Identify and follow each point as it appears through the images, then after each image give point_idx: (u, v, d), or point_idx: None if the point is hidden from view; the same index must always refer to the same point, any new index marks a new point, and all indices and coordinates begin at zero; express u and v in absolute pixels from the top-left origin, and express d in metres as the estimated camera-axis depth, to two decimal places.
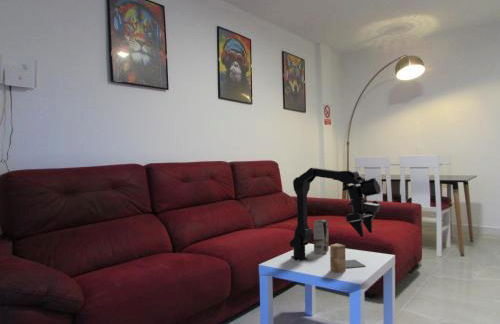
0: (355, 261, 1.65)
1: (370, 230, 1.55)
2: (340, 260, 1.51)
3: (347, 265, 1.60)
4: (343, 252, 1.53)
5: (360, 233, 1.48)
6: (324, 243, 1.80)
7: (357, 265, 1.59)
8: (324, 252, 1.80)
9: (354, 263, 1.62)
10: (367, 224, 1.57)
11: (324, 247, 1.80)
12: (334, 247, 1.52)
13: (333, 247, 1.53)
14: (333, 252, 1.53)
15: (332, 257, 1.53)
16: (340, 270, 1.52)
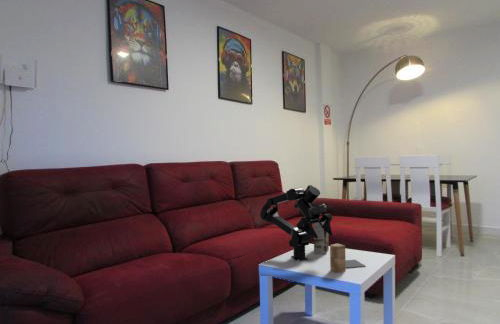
0: (355, 261, 1.65)
1: (330, 233, 1.63)
2: (339, 260, 1.51)
3: (347, 265, 1.60)
4: (343, 252, 1.53)
5: (314, 236, 1.58)
6: (324, 243, 1.80)
7: (357, 265, 1.59)
8: (324, 252, 1.80)
9: (354, 263, 1.62)
10: (327, 229, 1.65)
11: (324, 247, 1.80)
12: (334, 247, 1.52)
13: (333, 247, 1.53)
14: (333, 252, 1.53)
15: (332, 257, 1.53)
16: (340, 270, 1.52)
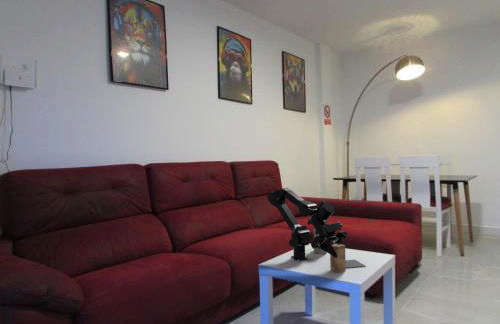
0: (355, 261, 1.65)
1: None
2: (340, 260, 1.51)
3: (347, 265, 1.60)
4: (343, 252, 1.53)
5: (333, 254, 1.52)
6: None
7: (357, 265, 1.59)
8: (324, 252, 1.80)
9: (354, 263, 1.62)
10: None
11: None
12: (334, 247, 1.52)
13: (333, 247, 1.53)
14: None
15: (332, 257, 1.53)
16: (340, 270, 1.52)
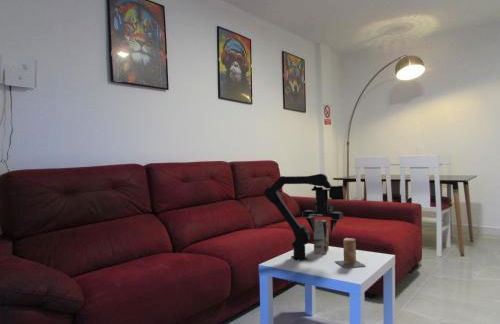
0: None
1: (314, 229, 1.73)
2: (354, 253, 1.60)
3: (347, 265, 1.60)
4: (355, 245, 1.62)
5: (333, 230, 1.67)
6: (324, 243, 1.80)
7: (357, 265, 1.59)
8: (324, 252, 1.80)
9: None
10: (313, 224, 1.73)
11: (324, 247, 1.80)
12: (349, 241, 1.60)
13: (347, 241, 1.61)
14: (347, 247, 1.61)
15: (346, 251, 1.61)
16: (354, 262, 1.61)
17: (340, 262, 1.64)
